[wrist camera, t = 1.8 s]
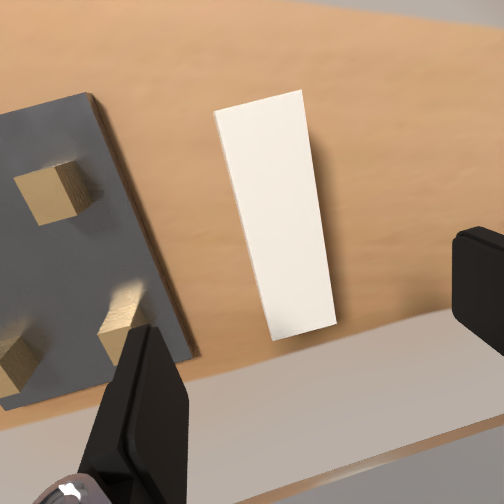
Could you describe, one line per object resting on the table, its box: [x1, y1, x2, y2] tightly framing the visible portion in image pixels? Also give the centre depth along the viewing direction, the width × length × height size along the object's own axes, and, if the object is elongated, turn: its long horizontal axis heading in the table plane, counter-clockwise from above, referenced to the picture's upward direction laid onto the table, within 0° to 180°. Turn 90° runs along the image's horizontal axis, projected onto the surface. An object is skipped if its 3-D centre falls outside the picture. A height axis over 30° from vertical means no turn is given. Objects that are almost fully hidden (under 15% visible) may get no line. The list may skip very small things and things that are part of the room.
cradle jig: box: [0, 92, 193, 411], centre depth 20 cm, size 14×18×4 cm
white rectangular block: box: [213, 90, 337, 341], centre depth 20 cm, size 4×13×5 cm, turn 13°
